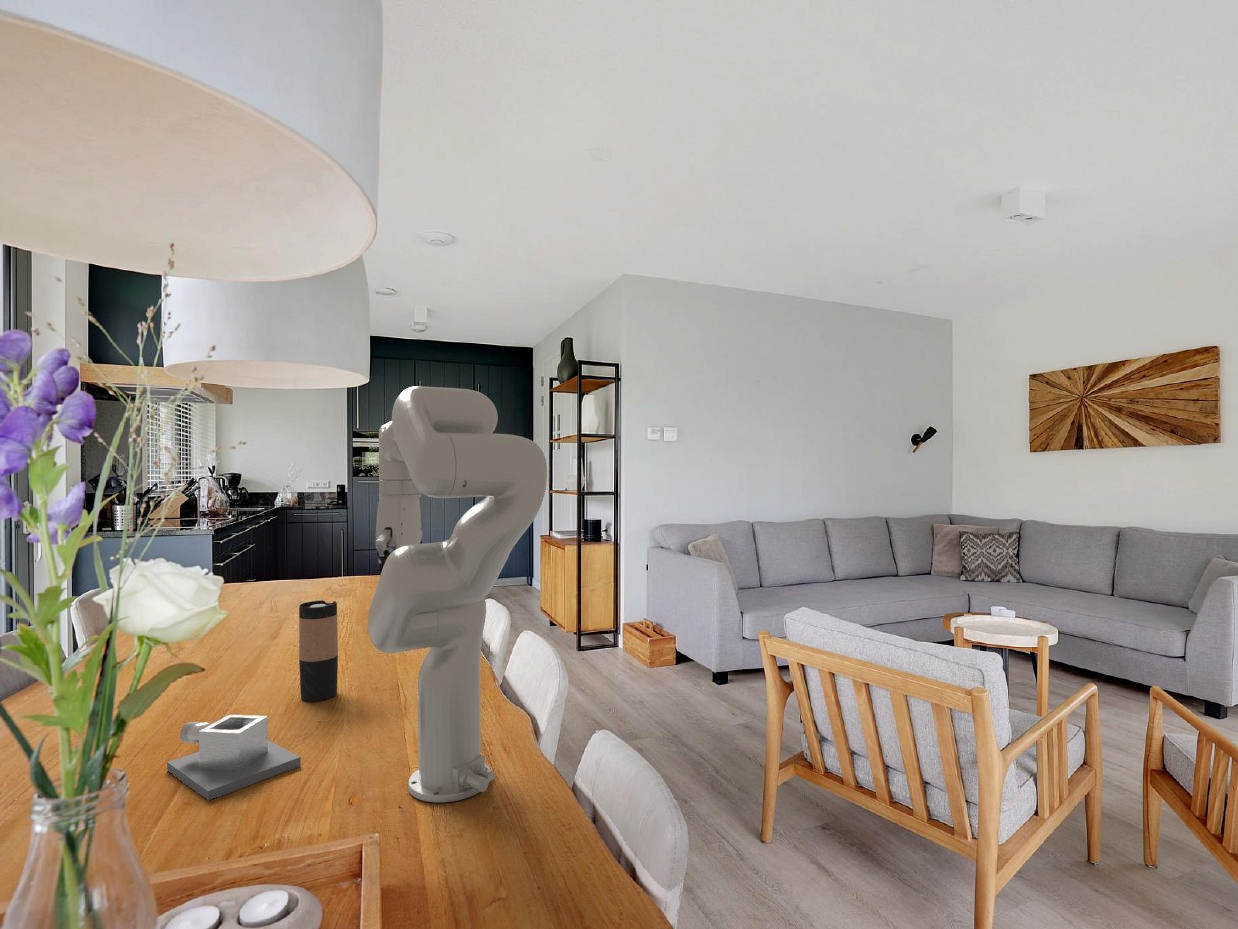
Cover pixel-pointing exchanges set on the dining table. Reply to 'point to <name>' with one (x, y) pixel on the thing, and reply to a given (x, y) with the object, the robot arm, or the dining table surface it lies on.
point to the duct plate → (232, 772)
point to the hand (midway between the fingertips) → (401, 580)
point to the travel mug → (318, 650)
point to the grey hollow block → (228, 741)
